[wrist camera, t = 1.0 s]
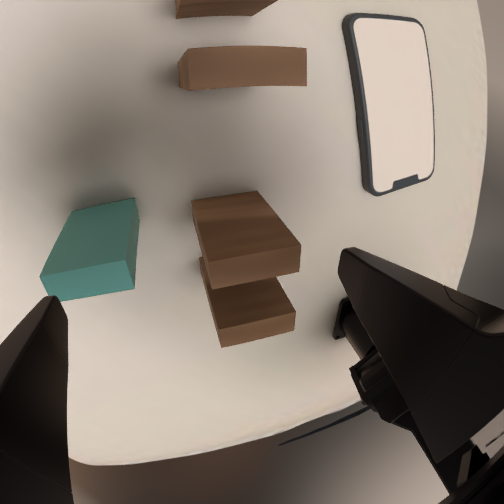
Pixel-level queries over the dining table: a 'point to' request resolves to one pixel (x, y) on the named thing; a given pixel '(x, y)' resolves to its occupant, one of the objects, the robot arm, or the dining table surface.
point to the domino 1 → (94, 252)
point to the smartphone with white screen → (391, 100)
